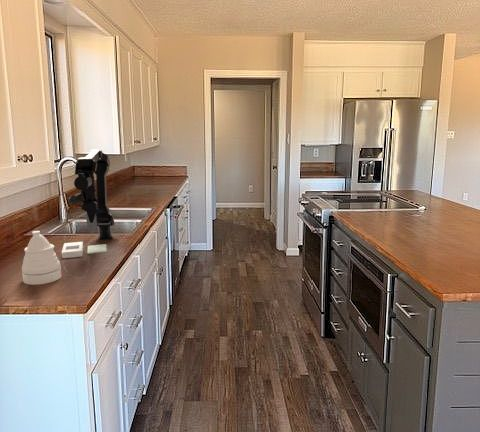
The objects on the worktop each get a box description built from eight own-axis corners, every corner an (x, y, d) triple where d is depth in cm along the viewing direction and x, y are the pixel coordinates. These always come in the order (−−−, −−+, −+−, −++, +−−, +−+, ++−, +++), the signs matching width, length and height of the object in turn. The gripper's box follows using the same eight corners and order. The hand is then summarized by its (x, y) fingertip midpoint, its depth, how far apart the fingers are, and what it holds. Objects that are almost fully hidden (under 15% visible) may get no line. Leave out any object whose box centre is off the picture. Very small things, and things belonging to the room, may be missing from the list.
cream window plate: (64, 248, 200) (64, 243, 199) (83, 246, 202) (82, 241, 201) (62, 258, 185) (61, 252, 184) (82, 256, 187) (81, 250, 187)
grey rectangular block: (87, 228, 196) (86, 211, 195) (97, 228, 197) (95, 210, 196) (87, 231, 193) (85, 213, 191) (97, 230, 194) (95, 212, 192)
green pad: (87, 246, 202) (87, 245, 202) (106, 245, 204) (106, 244, 204) (87, 253, 190) (87, 252, 190) (106, 251, 193) (106, 250, 193)
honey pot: (59, 282, 157) (54, 232, 153) (20, 286, 153) (13, 236, 149) (63, 270, 169) (58, 225, 165) (26, 274, 165) (20, 228, 161)
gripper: (70, 185, 197) (73, 218, 201) (66, 191, 180) (70, 228, 183) (96, 183, 200) (99, 216, 204) (95, 189, 183) (98, 225, 186)
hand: (91, 221), depth 194 cm, fingers closed on grey rectangular block, 4 cm apart
